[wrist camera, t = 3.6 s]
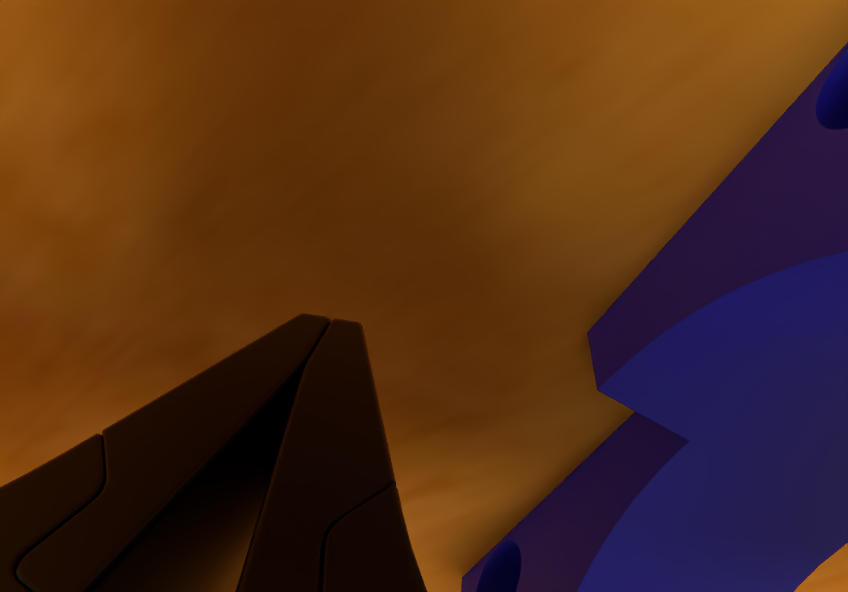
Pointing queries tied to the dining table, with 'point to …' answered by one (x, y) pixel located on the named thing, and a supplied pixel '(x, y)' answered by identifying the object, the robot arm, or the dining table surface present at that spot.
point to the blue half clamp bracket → (718, 391)
